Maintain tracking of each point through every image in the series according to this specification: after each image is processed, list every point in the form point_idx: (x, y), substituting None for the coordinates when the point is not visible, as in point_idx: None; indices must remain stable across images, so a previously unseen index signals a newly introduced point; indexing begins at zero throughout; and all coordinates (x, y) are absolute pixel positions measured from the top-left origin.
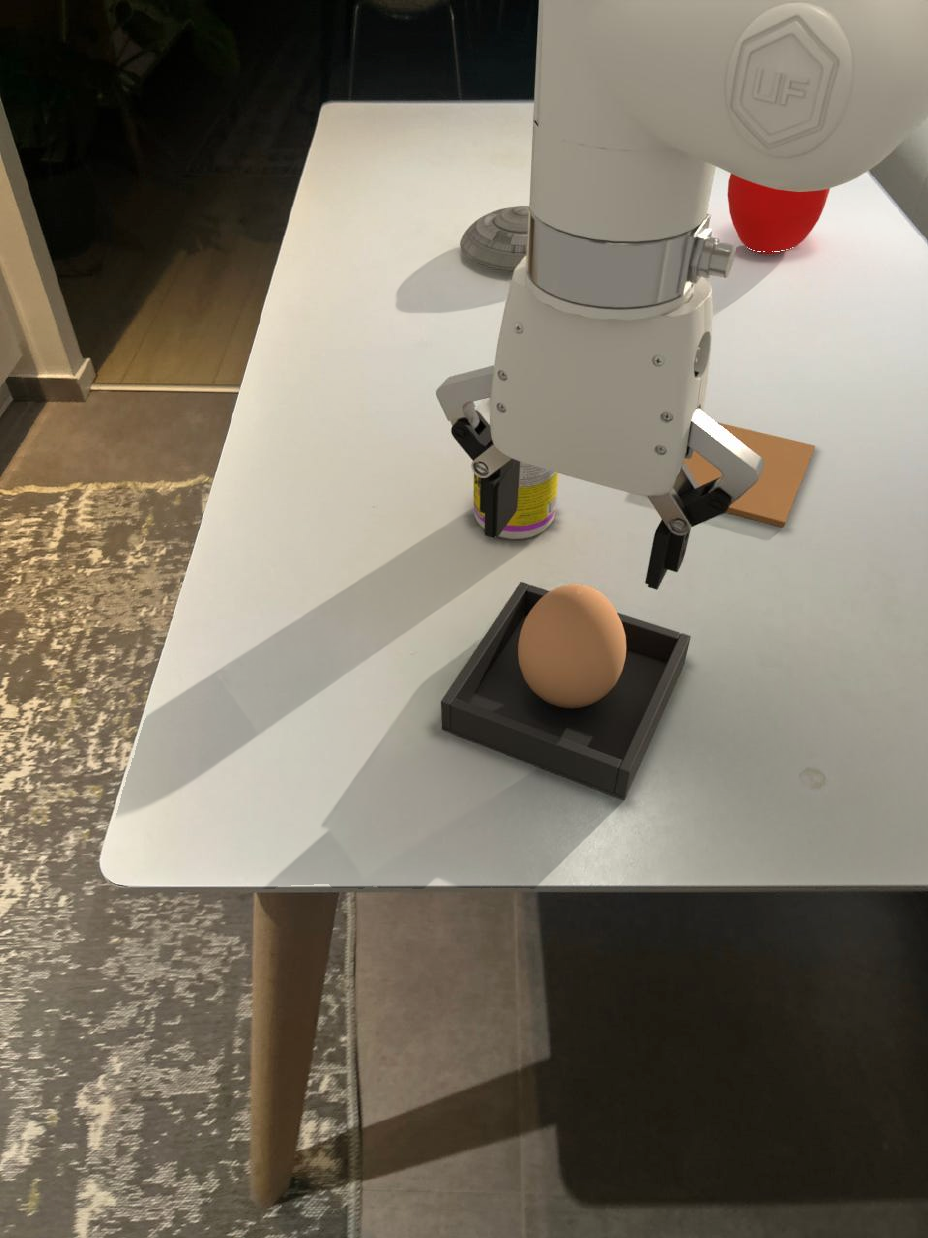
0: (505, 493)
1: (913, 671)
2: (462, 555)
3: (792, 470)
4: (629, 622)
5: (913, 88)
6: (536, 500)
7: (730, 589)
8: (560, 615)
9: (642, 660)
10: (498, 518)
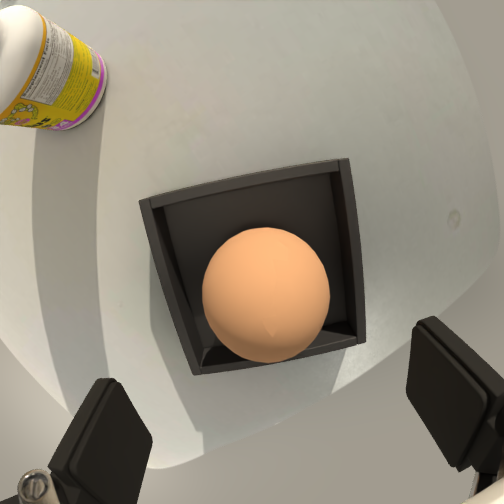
0: (123, 477)
1: (467, 77)
2: (66, 171)
3: None
4: (281, 178)
5: None
6: (78, 88)
7: (318, 39)
8: (267, 359)
9: (300, 182)
10: (143, 464)
